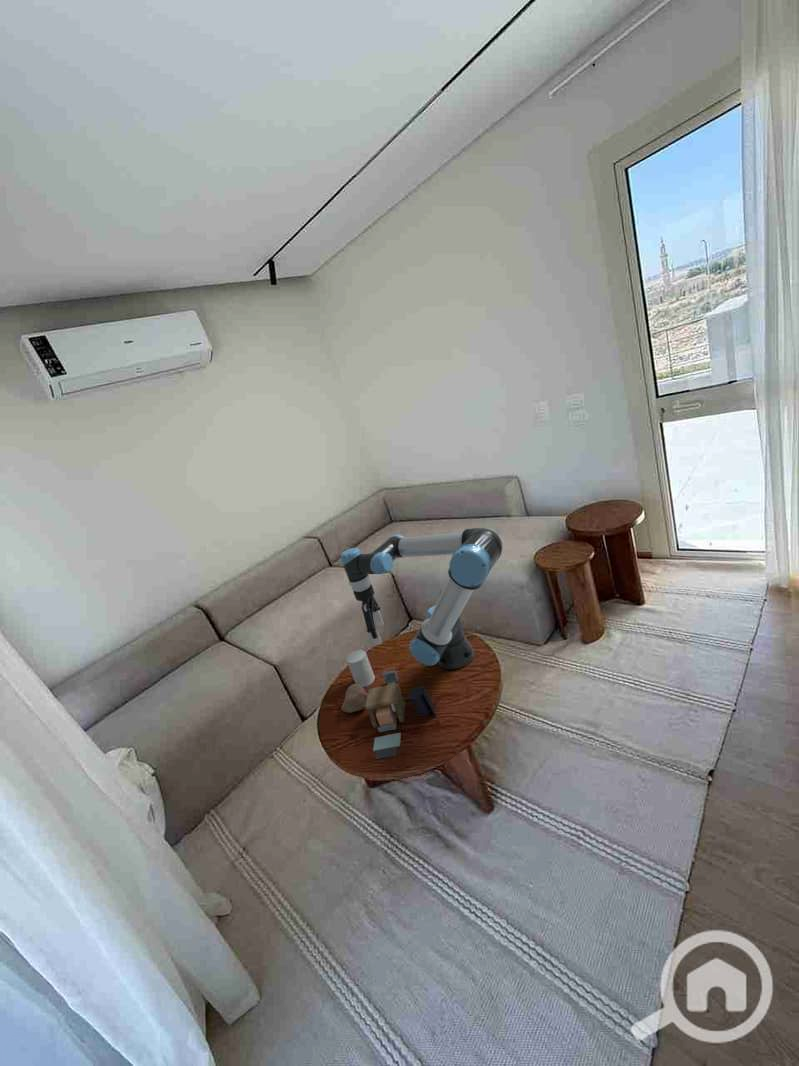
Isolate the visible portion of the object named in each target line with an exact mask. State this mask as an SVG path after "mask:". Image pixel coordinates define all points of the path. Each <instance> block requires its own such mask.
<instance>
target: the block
mask: <svg viewBox="0 0 799 1066" xmlns="http://www.w3.org/2000/svg"><path fill="white" fill-rule="evenodd" d="M376 717H377V720H378V726H379V725H380V726H384V725H389V724H394V712H393V709H392V707H391V705H386V706H381V707H377V713H376Z"/></svg>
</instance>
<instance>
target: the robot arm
mask: <svg viewBox="0 0 799 1066" xmlns="http://www.w3.org/2000/svg"><path fill="white" fill-rule="evenodd" d="M502 542H503V541H502V540H501V537H500V536H499V534H497V533H496V532H495V531H494V530H492V529H489V528H485V527H474V528H465V529H463V530H462V531H461V532H454V533H452V532H451V533H442V534H430V535H429V534H428V535H419V536H408V537H407V536H406V537H405V536H403V535H401V534H398V533H397V534H393V535H391V536H390V537H389V538H387V539H386V540H385V542H383V543H382V544H381V545H380V546H379V547H377V548H376V549H374V551H372V552H370V553H362V552H361V551H360V549H359V548H357V547H352V548H348V549H346V550H344V551H343V552H341V553H340V560H341V563H342V566H343V568H344V570H345V571H344V572H345V573H346V576H347V579H348V585H349V586H350V587H351V590H352V592H353V595H354V597H355V600H356V601H357V602H362V603H361V611H362V614H363V618H364V621H365V626H366V632H367V634H370V636H371V640H372V642H373V644H374V646H379V645H382V643H383V642H382V639H381V637H380V634H379V632H378V631H379V630H378V629H377V627H382V626H385V624H384V621H383V618H382V615H381V612H380V611H381V607H380V606H379V603H378V602H377V600H376V598H375V597H374V595H375V590H374V587H373V584H372V581H371V578H370V576H369V575H383V574H387V573H389V572H391V570H392V568H393V566H394V565H393V564H394V563H393V562H394V561H395V560H396V559H401V558H402V559H403V558H415V557H431V556H432V557H434V556H436V557H437V556H451V559H450V561H449V564H448V565H449V566H448V567H449V568H448V571H447V572H448V573H447V574H448V576H449V578H448V581H447V582H446V584H445V587H444V589H443V590H442V592H441V594H440V596H439V598H438V600H437V602H436V604H434V605H433V606H432V607H431V606H430V608H428V609H427V611H426V614H427V615H426V616H427V618H426V619H425V620H423V621H422V623H421V625H420V627H419V628H418V631H417V633H416V634H415V636H414V638H413V639H411V641H410V643H409V647H408V648H409V652H410V653H411V656H412V657H413V658H414V660H416V661H417V662H418V663H420V664H422V665H425V666H430V667H431V666H435V665H436V664H438V666H439V667H440V668H442V669H445V670H456V669H461V668H463V667H466V666H467V665H468V664H470V663H471V662H472V661H473V659H474V657H475V651H474V648H473V646H472V644H471V643H470V641H469V640H468V639H467V637H466V635H465V632H464V627H463V625H462V621H461V618H460V615H461V614H462V612H463V610H464V608H465V606H466V605H467V604H468V601H469V600H470V598H471V596H472V594H473V593H474V591H478V590H479V589H481V588H482V586H483V585H484V583H485V581H486V580H487V578H488V576H489V574H490V572H491V570H492V569H493V568H494V567H495V565H496V563H497V562H498V561H499V559H500V557H502V553H503V543H502ZM376 626H377V627H376Z"/></svg>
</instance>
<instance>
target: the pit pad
mask: <svg viewBox="0 0 799 1066" xmlns="http://www.w3.org/2000/svg"><path fill="white" fill-rule="evenodd" d="M396 755H398V747H393V748H388V749H383V750H378V751H375V758H374V760H375V759H377V760H382V759H381V758H383V759H387V758H386V757H388V758H392V757H391V756H393V757H396Z"/></svg>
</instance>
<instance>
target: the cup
mask: <svg viewBox="0 0 799 1066" xmlns="http://www.w3.org/2000/svg"><path fill="white" fill-rule="evenodd" d="M345 660H346V662H347V665H348V668H349V671H350V673H351V675H352V678H353V680H354V684H358V685H360V686H362V687H363V688H366V687H368V686H370V685H371V684H373V682H374V681H375V678H376V676H375V674H374V672H373V669H372V665H371V663H370V660H369V658H368V655H367V652H366V651H365V650H364V649H357V650H354V651H352V652H350V653H349V654H348V655H347V656H346V659H345Z"/></svg>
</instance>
